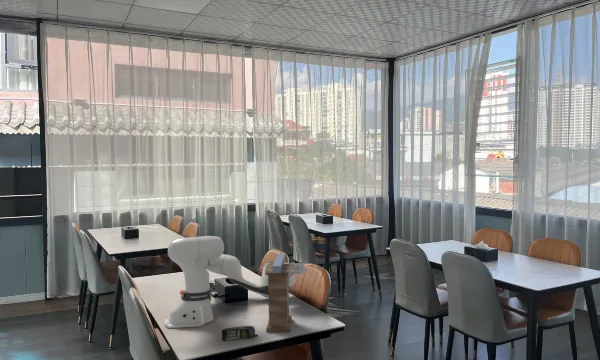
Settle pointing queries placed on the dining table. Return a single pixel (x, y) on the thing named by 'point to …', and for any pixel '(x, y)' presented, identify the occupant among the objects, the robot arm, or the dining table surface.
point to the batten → (279, 263)
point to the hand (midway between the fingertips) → (283, 263)
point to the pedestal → (278, 300)
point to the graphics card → (213, 289)
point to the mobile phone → (238, 333)
